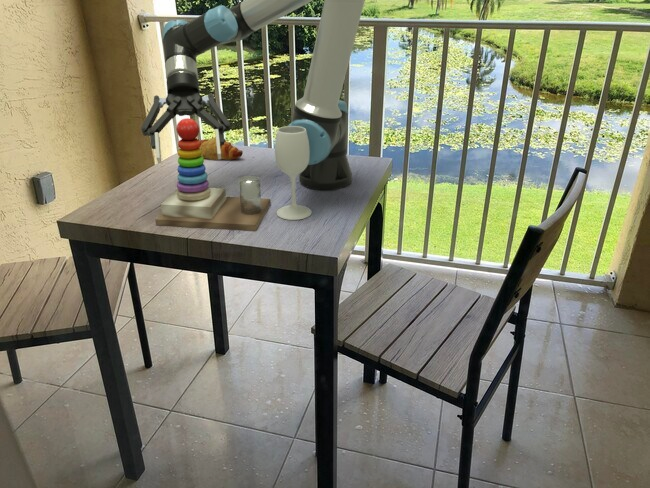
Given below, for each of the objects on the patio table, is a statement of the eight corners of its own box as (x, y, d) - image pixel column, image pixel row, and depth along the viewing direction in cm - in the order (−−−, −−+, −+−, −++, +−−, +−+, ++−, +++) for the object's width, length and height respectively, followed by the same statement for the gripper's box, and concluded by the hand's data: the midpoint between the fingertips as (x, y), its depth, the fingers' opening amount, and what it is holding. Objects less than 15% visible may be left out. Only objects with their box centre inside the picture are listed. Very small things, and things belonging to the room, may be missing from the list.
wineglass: (288, 203, 132) (286, 123, 123) (317, 210, 128) (317, 127, 119) (269, 215, 125) (265, 131, 116) (299, 223, 122) (297, 136, 112)
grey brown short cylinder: (263, 207, 126) (261, 176, 123) (258, 215, 122) (257, 183, 118) (243, 206, 127) (241, 175, 123) (238, 214, 123) (235, 182, 119)
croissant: (186, 164, 172) (176, 146, 166) (201, 143, 177) (191, 125, 171) (239, 172, 163) (230, 153, 157) (253, 150, 168) (245, 131, 162)
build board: (270, 204, 132) (269, 187, 130) (255, 230, 118) (254, 213, 116) (181, 199, 134) (179, 183, 132) (156, 225, 120) (153, 207, 118)
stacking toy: (203, 203, 120) (193, 124, 112) (171, 200, 122) (160, 122, 113) (216, 191, 127) (208, 116, 119) (186, 189, 129) (176, 114, 120)
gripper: (234, 87, 130) (243, 162, 124) (131, 91, 125) (135, 169, 119) (234, 68, 123) (244, 147, 117) (125, 72, 118) (129, 154, 112)
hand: (189, 158), depth 118 cm, fingers open, 13 cm apart
